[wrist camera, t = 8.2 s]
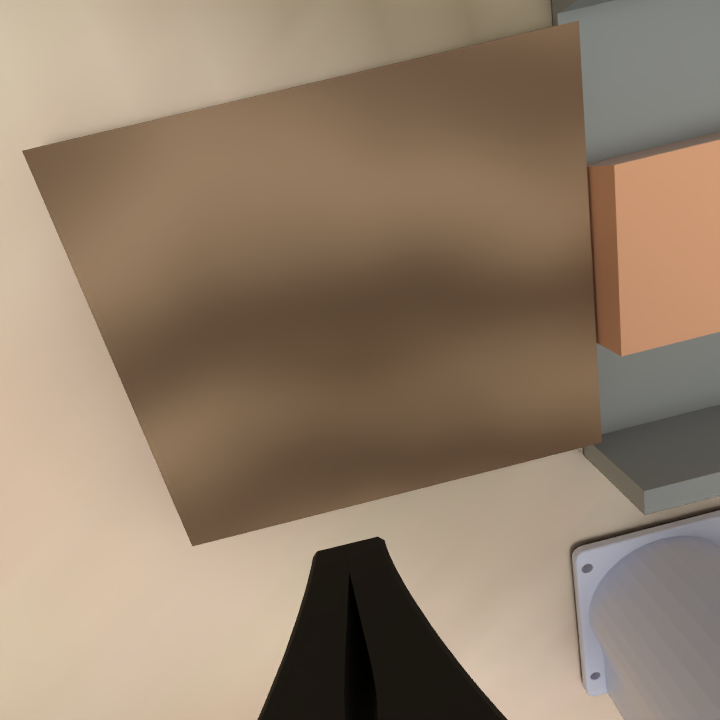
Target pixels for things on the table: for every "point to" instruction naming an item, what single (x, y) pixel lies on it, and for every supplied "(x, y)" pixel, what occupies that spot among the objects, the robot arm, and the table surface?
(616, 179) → the terracotta tile
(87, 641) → the table surface
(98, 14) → the table surface
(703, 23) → the grey box
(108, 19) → the table surface
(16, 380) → the table surface
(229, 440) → the walnut board
